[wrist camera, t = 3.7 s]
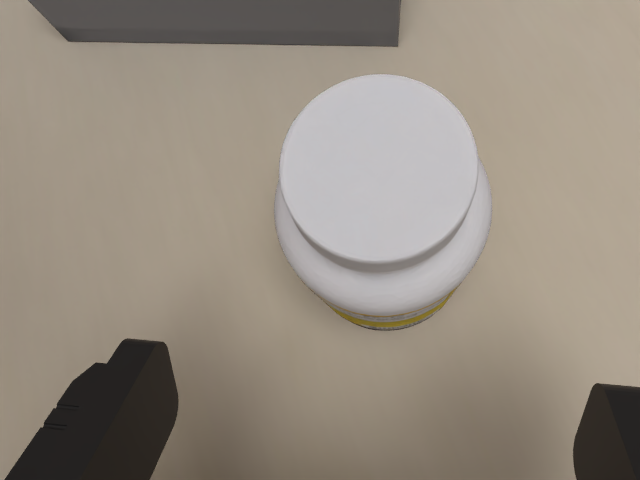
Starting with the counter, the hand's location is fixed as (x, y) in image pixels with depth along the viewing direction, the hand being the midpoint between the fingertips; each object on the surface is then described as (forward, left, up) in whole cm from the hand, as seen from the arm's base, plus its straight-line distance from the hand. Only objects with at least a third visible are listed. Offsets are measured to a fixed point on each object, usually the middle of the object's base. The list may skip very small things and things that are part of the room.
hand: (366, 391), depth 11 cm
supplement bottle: (0, +4, -9) cm, 10 cm away
